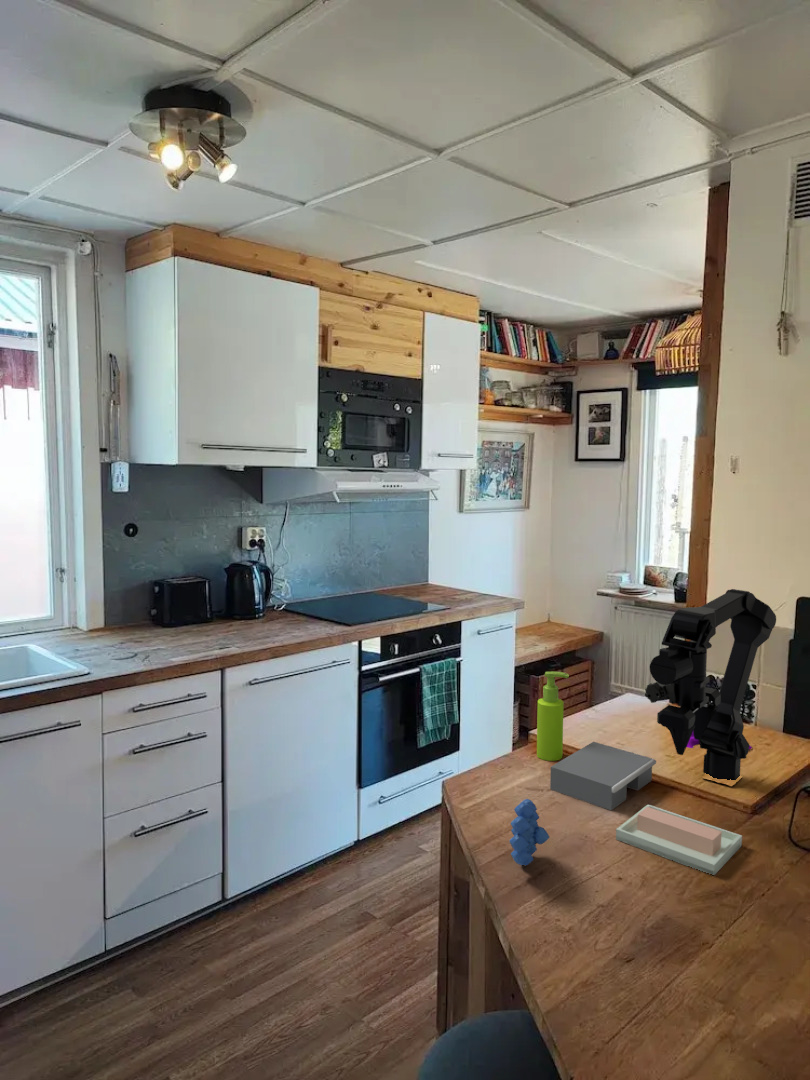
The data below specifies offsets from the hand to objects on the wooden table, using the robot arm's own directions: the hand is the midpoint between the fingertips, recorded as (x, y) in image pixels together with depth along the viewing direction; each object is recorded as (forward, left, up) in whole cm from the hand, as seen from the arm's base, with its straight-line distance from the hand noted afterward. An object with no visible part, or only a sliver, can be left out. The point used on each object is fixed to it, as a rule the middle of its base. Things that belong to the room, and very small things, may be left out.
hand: (688, 746), depth 158 cm
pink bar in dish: (-6, +18, -10) cm, 21 cm away
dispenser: (+16, +6, -11) cm, 20 cm away
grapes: (+10, +42, -11) cm, 45 cm away
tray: (-6, +18, -11) cm, 22 cm away
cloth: (+9, -36, -12) cm, 39 cm away
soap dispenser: (+32, 0, -11) cm, 34 cm away
